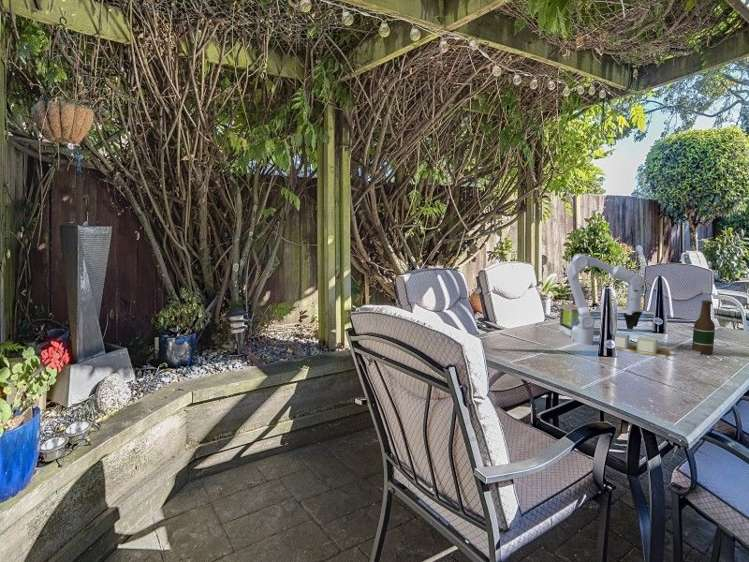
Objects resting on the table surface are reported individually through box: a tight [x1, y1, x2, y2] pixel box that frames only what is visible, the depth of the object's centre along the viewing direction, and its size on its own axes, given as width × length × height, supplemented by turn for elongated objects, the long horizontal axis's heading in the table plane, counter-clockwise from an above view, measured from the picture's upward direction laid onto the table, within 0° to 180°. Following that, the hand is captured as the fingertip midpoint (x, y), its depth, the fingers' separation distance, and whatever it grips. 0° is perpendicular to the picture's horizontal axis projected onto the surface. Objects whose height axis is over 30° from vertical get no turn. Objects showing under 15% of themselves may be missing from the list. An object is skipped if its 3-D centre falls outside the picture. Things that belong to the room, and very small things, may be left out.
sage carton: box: [636, 335, 659, 354], centre depth 199 cm, size 7×5×6 cm, turn 48°
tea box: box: [559, 304, 591, 337], centre depth 240 cm, size 15×10×15 cm
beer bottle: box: [691, 299, 716, 356], centre depth 203 cm, size 8×8×24 cm
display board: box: [615, 342, 673, 359], centre depth 206 cm, size 24×18×3 cm
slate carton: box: [615, 332, 631, 349], centre depth 207 cm, size 7×5×6 cm, turn 48°
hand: (631, 327), depth 210 cm, fingers open, 7 cm apart
